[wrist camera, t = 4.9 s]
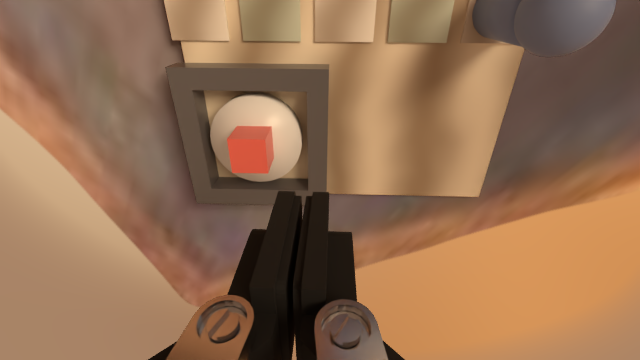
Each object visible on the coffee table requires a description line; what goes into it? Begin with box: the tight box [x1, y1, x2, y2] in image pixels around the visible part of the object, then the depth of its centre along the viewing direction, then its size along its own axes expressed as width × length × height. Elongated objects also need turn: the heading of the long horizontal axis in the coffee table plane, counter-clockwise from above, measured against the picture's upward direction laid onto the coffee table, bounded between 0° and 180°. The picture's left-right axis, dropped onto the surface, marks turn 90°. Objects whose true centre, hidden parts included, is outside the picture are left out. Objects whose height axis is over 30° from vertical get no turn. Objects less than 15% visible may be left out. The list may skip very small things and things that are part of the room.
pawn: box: [472, 0, 616, 57], centre depth 16 cm, size 4×4×8 cm
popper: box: [210, 92, 303, 182], centre depth 23 cm, size 7×7×4 cm
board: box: [164, 0, 524, 197], centre depth 23 cm, size 24×19×1 cm
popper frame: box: [165, 63, 329, 206], centre depth 24 cm, size 11×11×2 cm
